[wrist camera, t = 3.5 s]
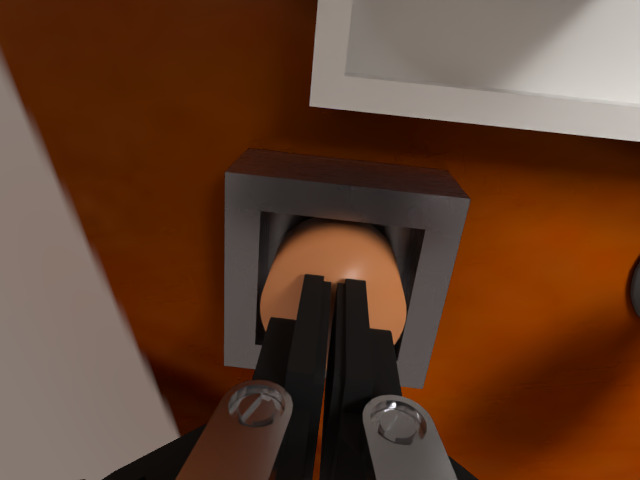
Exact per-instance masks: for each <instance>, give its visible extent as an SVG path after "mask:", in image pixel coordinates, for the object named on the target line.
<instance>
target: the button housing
mask: <svg viewBox="0 0 640 480" xmlns="http://www.w3.org/2000/svg"><path fill="white" fill-rule="evenodd" d="M469 203H470V198H469V196H468V195H467V194H466V193H465V192H464V190H463V189H462V188H461V187H460V185H459V184H458V183H457V182H456V180H455V179H454V178H453V177H452V176H451V174H450V173H449V172H448V171H447V170H443V169H434V168H425V167H415V166H406V165H397V164H388V163H379V162H370V161H360V160H351V159H342V158H333V157H324V156H315V155H305V154H296V153H287V152H278V151H269V150H260V149H250V148H248V149H247V150H246V151H245V152H244V153H243V154H242V155H241V156H240V157H239V158H238V159H237V160H236V161H235V162H234V163H233V164H232V165H231V166H230V167H229V168H228V169H227V170H226V171H225V263H224V366H232V367H241V368H249V369H255V368H256V365H257V361H258V358H259V354H260V351H261V347H262V344H263V340H264V337H265V334H266V331H265V329H264V326H263V323H262V319H261V314H260V302H261V296H262V292H263V289H264V286H265V283H266V280H267V277H268V275H269V272H270V269H271V266H272V263H273V260H274V257H275V255H276V252H277V249H278V247H279V245H280V243H281V242H282V240H283V239H284V237H285V236H286V235H287V234H288V233H289V232H290V231H291V230H292V229H293V228H294V227H296V226H297V225H299V224H300V223H302V222H304V221H306V220H308V219H311V218H314V217H320V218H329V219H338V220H347V221H356V222H365V223H369V224H370V225H372V226H374V227H375V228H376V229H377V230H379V231H380V232H381V233H382V234H383V235H384V236H385V238H386V239H387V240H388V242H389V243H390V245H391V247H392V249H393V251H394V254H395V257H396V261H397V266H398V270H399V274H400V279H401V283H402V288H403V292H404V296H405V302H406V321H405V325H404V328H403V331H402V333H401V335H400V337H399V339H398V340H397V342H396V343H395V345H394V350H395V356H396V362H397V368H398V374H399V380H400V386H403V387H412V388H420V389H423V385H424V381H425V377H426V373H427V370H428V366H429V362H430V358H431V354H432V350H433V346H434V342H435V338H436V334H437V330H438V326H439V322H440V318H441V314H442V310H443V306H444V302H445V298H446V294H447V290H448V286H449V282H450V278H451V274H452V271H453V267H454V263H455V259H456V255H457V251H458V247H459V243H460V239H461V235H462V231H463V227H464V223H465V219H466V215H467V211H468V207H469ZM325 377H326V372H325Z"/></svg>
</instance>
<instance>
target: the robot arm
mask: <svg viewBox="0 0 640 480" xmlns="http://www.w3.org/2000/svg"><path fill="white" fill-rule="evenodd" d="M330 297H331V282H328V281H324V276H321V275H312V274H305V275H304V281H303V286H302V291H301V297H300V302H299V307H298V313H297V318H296V320H294V319H285V318H276V317H271V318H270V320H269V323H268V327H267V330H266V334H265V337H264V340H263V344H262V347H261V351H260V354H259V358H258V361H257V365H256V368H255V372H254V375H253V379H252V380H249V381H245V382H242V383H239V384H237V385H235V386H234V387H232V388H231V389H229V390H228V391H227V393H226V394H225V395H224V396H223V398H222V400H221V401H220V403H219V405H218V406H217V408H216V410H215V412H214V413H213V415H212V417H211V419H210V420H209V422H208V423H207V424H205V425H203V426H201V427H199V428H197V429H195V430H193V431H191V432H189V433H187V434H185V435H184V436H182V437H180V438H178V439H176V440H174V441H172V442H170V443H168V444H166V445H164V446H162V447H161V448H159V449H157V450H155V451H153V452H151V453H149V454H147V455H145V456H143V457H141V458H139V459H137V460H136V461H134V462H132V463H130V464H128V465H126V466H124V467H122V468H120V469H118V470H117V471H114V472H113V473H111V474H110V475H108V476H107V477H105V478H104V479H102V480H312V476H313V469H314V461H315V453H316V445H317V437H318V430H319V422H320V414H321V406H322V399H323V391H324V382H325V372H326V383H325V399H324V415H323V431H322V447H321V462H320V479H319V480H478V479H477V478H476V477H474V476H473V475H472V474H471V473H469V472H468V471H467V470H466V469H464V468H463V467H462V466H461V465H459V464H458V463H457V462H456V461H454V460H453V459H452V458H451V457H449V456H448V455H447V453H446V451H445V448H444V446H443V444H442V441H441V439H440V437H439V434H438V432H437V429H436V427H435V425H434V422H433V420H432V419H431V417H430V415H429V414H428V412H427V411H426V410H425V409H424V408H422V407H421V406H420V405H419V404H417V403H416V402H414V401H412V400H410V399H408V398H405V397H402V392H401V386H400V380H399V374H398V368H397V362H396V356H395V350H394V343H393V337H392V333H391V331H390V330H382V329H373V328H370V324H369V313H368V301H367V289H366V281H365V280H356V279H347V278H346V280H345V283H337V290H336V298H335V306H334V313H333V321H332V329H331V337H330V344H329V352H328V360H327V369H326V359H327V343H328V328H329V313H330ZM82 480H85V479H82Z"/></svg>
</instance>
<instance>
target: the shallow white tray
mask: <svg viewBox="0 0 640 480" xmlns="http://www.w3.org/2000/svg"><path fill="white" fill-rule="evenodd" d="M309 106H312V107H321V108H331V109H340V110H349V111H359V112H368V113H377V114H387V115H396V116H405V117H415V118H424V119H433V120H442V121H452V122H461V123H470V124H480V125H489V126H498V127H508V128H517V129H526V130H536V131H545V132H554V133H563V134H573V135H582V136H591V137H601V138H610V139H619V140H629V141H638V142H640V0H318V7H317V19H316V31H315V43H314V55H313V68H312V80H311V92H310V104H309Z"/></svg>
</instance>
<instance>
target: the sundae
mask: <svg viewBox="0 0 640 480" xmlns="http://www.w3.org/2000/svg"><path fill="white" fill-rule="evenodd" d="M630 296H631V300H632V304H633V307H634V309H635V311H636V313H637V315H638V316H639V317H640V262H639V264H638V265H637V267H636V269H635V270H634V274H633V278H632V282H631V290H630Z"/></svg>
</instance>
